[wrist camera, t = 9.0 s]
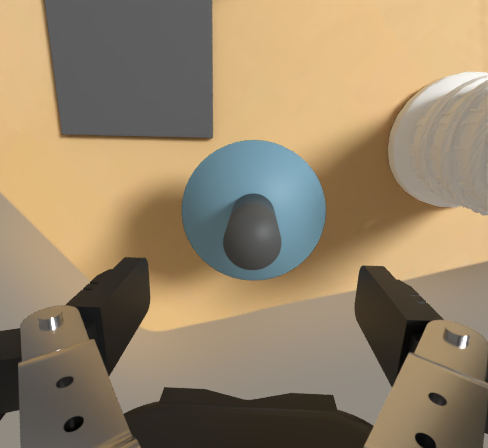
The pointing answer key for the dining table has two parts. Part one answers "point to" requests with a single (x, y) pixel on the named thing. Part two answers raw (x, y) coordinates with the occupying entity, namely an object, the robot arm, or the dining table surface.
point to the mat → (133, 66)
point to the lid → (253, 210)
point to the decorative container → (444, 143)
